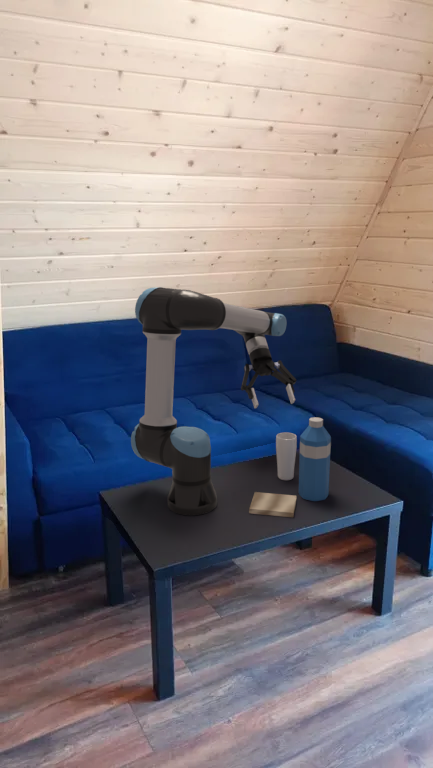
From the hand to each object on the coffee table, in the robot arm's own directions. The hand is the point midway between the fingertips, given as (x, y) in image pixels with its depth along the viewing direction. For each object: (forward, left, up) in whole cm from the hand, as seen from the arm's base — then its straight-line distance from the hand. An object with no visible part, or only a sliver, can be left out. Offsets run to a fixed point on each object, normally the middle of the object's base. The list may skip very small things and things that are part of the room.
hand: (275, 404), depth 200 cm
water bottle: (+15, -20, -23) cm, 34 cm away
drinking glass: (+5, -10, -23) cm, 25 cm away
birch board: (+4, -31, -22) cm, 38 cm away
